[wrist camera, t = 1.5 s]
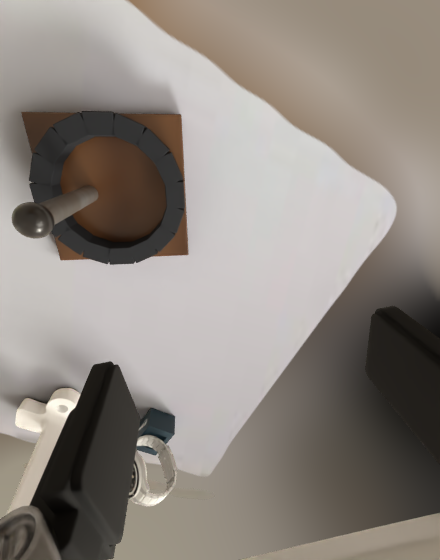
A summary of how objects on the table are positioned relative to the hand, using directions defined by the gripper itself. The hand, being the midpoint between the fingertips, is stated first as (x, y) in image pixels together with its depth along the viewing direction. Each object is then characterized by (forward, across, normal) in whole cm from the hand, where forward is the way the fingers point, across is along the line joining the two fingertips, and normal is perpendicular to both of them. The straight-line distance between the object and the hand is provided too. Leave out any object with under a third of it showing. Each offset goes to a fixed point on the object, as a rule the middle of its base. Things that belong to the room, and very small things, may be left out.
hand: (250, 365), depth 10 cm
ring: (+22, +8, -4) cm, 24 cm away
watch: (+24, +14, +31) cm, 42 cm away
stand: (+24, +8, -4) cm, 25 cm away
